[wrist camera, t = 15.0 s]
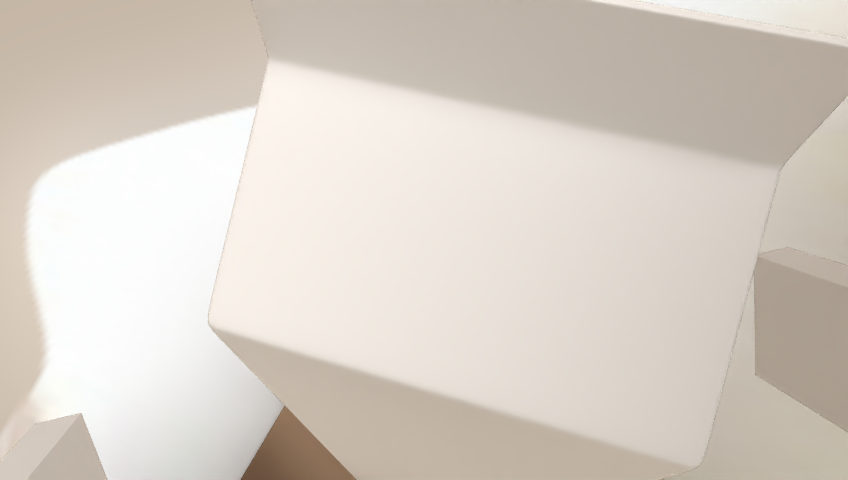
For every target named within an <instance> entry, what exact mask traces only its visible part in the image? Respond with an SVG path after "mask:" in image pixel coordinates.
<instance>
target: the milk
mask: <svg viewBox="0 0 848 480" xmlns="http://www.w3.org/2000/svg"><path fill="white" fill-rule="evenodd" d="M251 2H252V5H253V8H254V12H255V15H256V18H257V21H258V25H259V28H260V31H261V34H262V37H263V41H264V44H265V47H266V52H267V56H268V63H267V68H266V72H265V76H264V81H263V84H262V89H261V93H260V97H259V101H258V105H257V110H256V114H255V118H254V122H253V126H252V130H251V135H250V139H249V143H248V147H247V151H246V156H245V160H244V164H243V168H242V172H241V176H240V181H239V185H238V189H237V193H236V197H235V202H234V206H233V210H232V214H231V218H230V223H229V227H228V231H227V235H226V239H225V243H224V248H223V252H222V256H221V260H220V264H219V269H218V273H217V277H216V281H215V285H214V290H213V294H212V298H211V303H210V308H209V313H208V324H209V326H210V327H211V329H212V330H213V331H214V332H215V334H216V335H217V336H218V337H219V338H220V339H221V340H222V341H223V342H224V343H225V344H226V345H227V346H228V347H229V348H230V349H231V350H232V351H233V352H234V353H235V354H236V355H237V356H238V357H239V358H240V360H241V361H242V362H243V363H244V364H245V365H246V366H247V367H248V368H249V369H250V370H251V371H252V372H253V373H254V374H255V375H256V376H257V377H258V378H259V379H260V380H261V381H262V382H263V383H264V384H265V385H266V386H267V387H268V389H269V390H270V391H271V392H272V393H273V394H274V395H275V396H276V397H277V398H278V399H279V400H280V401H281V402H282V403H283V404H284V405H285V406H286V407H287V408H288V409H289V410H290V411H291V412H292V413H293V414H294V415H295V416H296V418H297V419H298V420H299V421H300V422H301V423H302V424H303V425H304V426H305V427H306V428H307V429H308V430H309V431H310V432H311V433H312V434H313V435H314V436H315V437H316V438H317V439H318V440H319V441H320V442H321V443H322V444H323V445H324V446H325V448H326V449H327V450H328V451H329V452H330V453H331V454H332V455H333V456H334V457H335V458H336V459H337V460H338V461H339V462H340V463H341V464H342V465H343V466H344V467H345V468H346V469H347V470H348V471H349V472H350V473H351V474H352V475H353V477H354V478H355V479H356V480H660V479H664V478H667V477H671V476H674V475H678V474H681V473H684V472H687V471H690V470H693V469H695V468H697V467H698V466H699V465H700V464H701V462H702V460H703V458H704V455H705V452H706V449H707V445H708V442H709V438H710V435H711V431H712V427H713V423H714V420H715V416H716V412H717V408H718V405H719V401H720V397H721V393H722V389H723V386H724V382H725V378H726V374H727V371H728V367H729V363H730V359H731V355H732V352H733V348H734V344H735V340H736V337H737V333H738V329H739V325H740V321H741V318H742V314H743V310H744V306H745V303H746V299H747V295H748V291H749V288H750V284H751V280H752V276H753V272H754V269H755V265H756V261H757V257H758V254H759V250H760V246H761V242H762V238H763V235H764V231H765V227H766V223H767V220H768V216H769V212H770V208H771V204H772V201H773V197H774V193H775V189H776V186H777V182H778V178H779V174H780V171H781V169H782V167H783V166H784V164H785V163H786V162H787V161H788V160H789V158H790V157H791V156H792V155H793V154H794V153H795V152H796V151H797V150H798V148H799V147H800V146H801V145H802V144H803V143H804V142H805V141H806V140H807V139H808V138H809V137H810V136H811V134H812V133H813V132H814V131H815V130H816V129H817V128H818V127H819V126H820V125H821V124H822V123H823V122H824V121H825V119H826V118H827V117H828V116H829V115H830V114H831V113H832V112H833V111H834V110H835V109H836V108H837V107H838V105H839V104H840V103H841V102H842V101H843V100H844V99H845V98H846V97H847V96H848V40H847V39H845V38H842V37H837V36H832V35H827V34H822V33H816V32H811V31H805V30H799V29H794V28H788V27H783V26H777V25H771V24H766V23H760V22H754V21H749V20H743V19H738V18H732V17H726V16H721V15H715V14H709V13H704V12H698V11H692V10H687V9H681V8H676V7H670V6H664V5H659V4H653V3H647V2H642V1H636V0H251Z"/></svg>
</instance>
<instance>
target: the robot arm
mask: <svg viewBox="0 0 848 480" xmlns="http://www.w3.org/2000/svg"><path fill="white" fill-rule="evenodd" d="M754 304H755V375H757V376H758V377H760V378H762V379H763V380H765V381H766V382H768V383H770V384H771V385H773V386H774V387H776V388H778V389H779V390H781V391H782V392H784V393H786V394H787V395H789V396H790V397H792V398H794V399H795V400H797V401H798V402H800V403H802V404H803V405H805V406H806V407H808V408H810V409H811V410H813V411H814V412H816V413H818V414H819V415H821V416H822V417H824V418H826V419H827V420H829V421H830V422H832V423H834V424H835V425H837V426H839V427H840V428H842V429H843V430H845V431H847V432H848V265H844V264H841V263H838V262H834V261H831V260H828V259H825V258H821V257H818V256H815V255H811V254H808V253H805V252H801V251H798V250H795V249H791V248H788V247H787V248H782V249H778V250H774V251H769V252H765V253H761V254H758V257H757V261H756V265H755V269H754ZM0 480H107V477H106V475H105V472H104V470H103V467H102V465H101V462H100V459H99V457H98V454H97V452H96V449H95V447H94V444H93V442H92V439H91V436H90V434H89V431H88V429H87V426H86V424H85V421H84V419H83V416H82V413H79V414H75V415H71V416H66V417H62V418H58V419H54V420H49V421H45V422H41V423H37V424H35V425H34V426H33V427H32V428H31V429H30V430H29V431H28V432H27V433H26V434H25V435H24V436H23V437H22V438H21V439H20V440H19V442H18V443H17V444H16V445H15V446H14V447H13V448H12V449H11V450H10V451H9V452H8V453H7V454H6V455H5V456H4V457H3V458H2V460H1V461H0Z"/></svg>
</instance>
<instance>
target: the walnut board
mask: <svg viewBox="0 0 848 480" xmlns="http://www.w3.org/2000/svg"><path fill="white" fill-rule="evenodd" d="M241 480H356V479H355V478H354V477H353V475H352V474H351V473H350V472H349V471H348V470H347V469H346V468H345V467H344V466H343V465H342V464H341V463H340V462H339V461H338V460H337V459H336V458H335V457H334V456H333V455H332V454H331V453H330V452H329V451H328V450H327V449H326V448H325V446H324V445H323V444H322V443H321V442H320V441H319V440H318V439H317V438H316V437H315V436H314V435H313V434H312V433H311V432H310V431H309V430H308V429H307V428H306V427H305V426H304V425H303V424H302V423H301V422H300V421H299V420H298V419H297V418H296V416H295V415H294V414H293V413H292V412H291V411H290V410H289V409H288V408H287V407H286V406H284V408H283V410H282V411H281V413H280V415H279V416H278V418H277V420H276V421H275V423H274V425H273V426H272V428H271V430H270V431H269V433H268V435H267V437H266V438H265V440H264V442H263V443H262V445H261V447H260V448H259V450H258V452H257V453H256V455H255V457H254V458H253V460H252V462H251V463H250V465H249V467H248V468H247V470H246V472H245V473H244V475H243V477H242V478H241Z"/></svg>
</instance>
